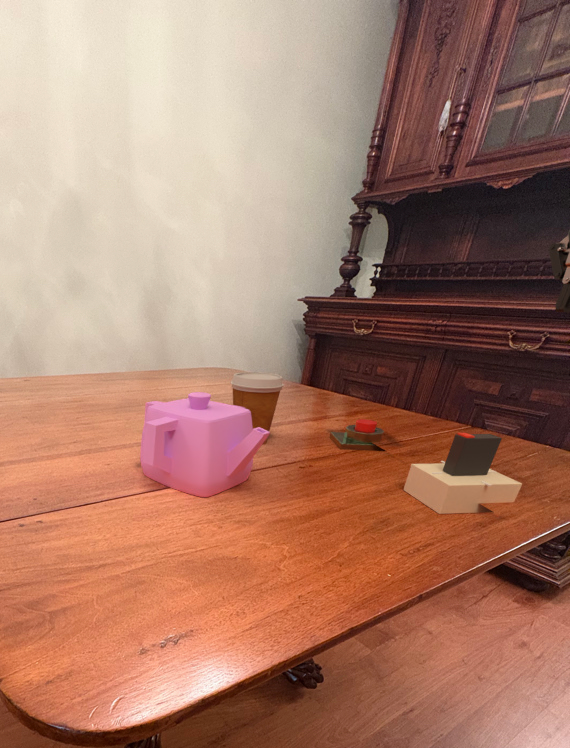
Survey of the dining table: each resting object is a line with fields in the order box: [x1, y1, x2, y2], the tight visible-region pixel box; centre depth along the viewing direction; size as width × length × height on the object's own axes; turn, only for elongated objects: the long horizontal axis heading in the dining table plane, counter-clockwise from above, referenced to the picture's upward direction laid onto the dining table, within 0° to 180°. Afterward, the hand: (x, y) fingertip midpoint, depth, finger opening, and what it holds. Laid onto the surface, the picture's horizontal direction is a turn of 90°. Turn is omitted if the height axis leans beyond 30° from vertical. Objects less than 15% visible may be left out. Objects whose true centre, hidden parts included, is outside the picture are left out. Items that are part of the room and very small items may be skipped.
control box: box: [403, 460, 523, 515], centre depth 58 cm, size 10×9×4 cm
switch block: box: [329, 424, 387, 452], centre depth 81 cm, size 10×8×3 cm
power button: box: [354, 418, 378, 432], centre depth 80 cm, size 4×4×2 cm
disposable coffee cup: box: [230, 371, 285, 446], centre depth 79 cm, size 10×10×12 cm
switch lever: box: [443, 432, 503, 476], centre depth 56 cm, size 5×2×5 cm, turn 96°
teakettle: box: [139, 391, 271, 498], centre depth 62 cm, size 17×17×12 cm
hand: (564, 311), depth 66 cm, fingers closed
